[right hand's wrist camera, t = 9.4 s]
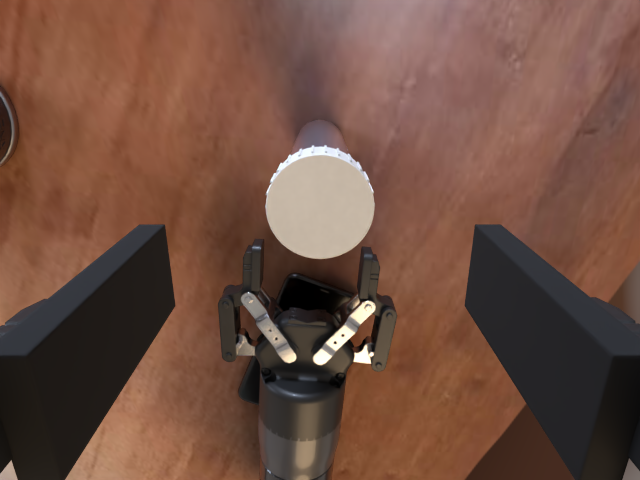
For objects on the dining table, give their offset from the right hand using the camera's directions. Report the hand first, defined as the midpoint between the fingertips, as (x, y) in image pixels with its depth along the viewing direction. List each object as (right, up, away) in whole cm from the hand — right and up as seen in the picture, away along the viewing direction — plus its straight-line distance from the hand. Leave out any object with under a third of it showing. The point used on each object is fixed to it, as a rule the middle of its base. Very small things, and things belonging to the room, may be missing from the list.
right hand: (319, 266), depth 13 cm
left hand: (-1, 0, +21) cm, 21 cm away
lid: (0, +2, +6) cm, 7 cm away
